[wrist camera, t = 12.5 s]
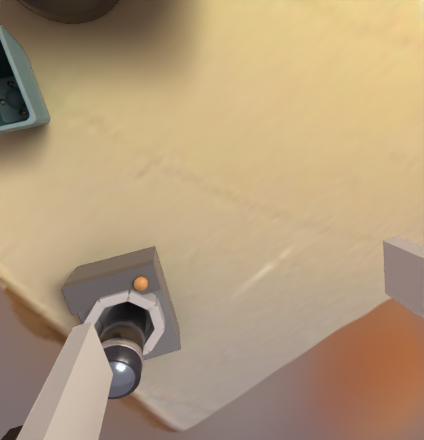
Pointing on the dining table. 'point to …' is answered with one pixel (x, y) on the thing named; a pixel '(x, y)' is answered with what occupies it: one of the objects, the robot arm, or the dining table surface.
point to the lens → (124, 347)
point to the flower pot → (18, 88)
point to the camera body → (126, 296)
